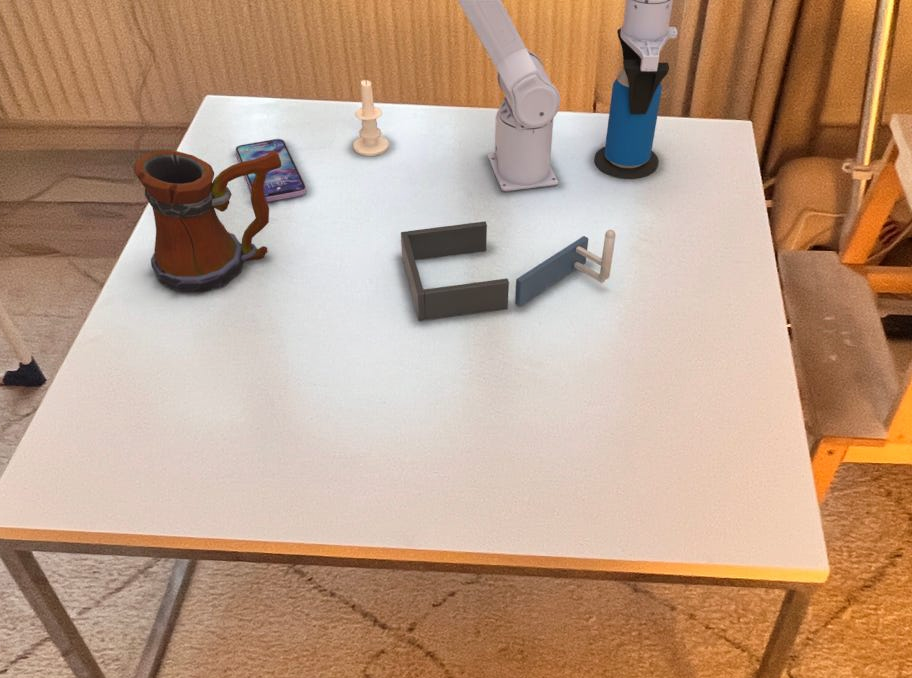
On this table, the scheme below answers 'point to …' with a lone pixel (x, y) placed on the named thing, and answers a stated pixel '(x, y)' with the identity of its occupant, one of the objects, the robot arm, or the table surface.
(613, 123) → the beverage can
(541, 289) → the cooler door
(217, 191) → the mug
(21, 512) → the table surface
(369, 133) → the candle
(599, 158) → the coaster
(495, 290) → the dark grey u-shaped piece
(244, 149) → the smartphone
